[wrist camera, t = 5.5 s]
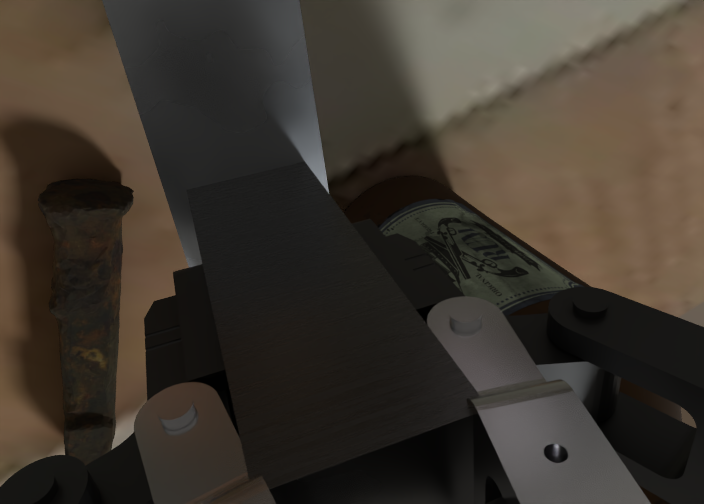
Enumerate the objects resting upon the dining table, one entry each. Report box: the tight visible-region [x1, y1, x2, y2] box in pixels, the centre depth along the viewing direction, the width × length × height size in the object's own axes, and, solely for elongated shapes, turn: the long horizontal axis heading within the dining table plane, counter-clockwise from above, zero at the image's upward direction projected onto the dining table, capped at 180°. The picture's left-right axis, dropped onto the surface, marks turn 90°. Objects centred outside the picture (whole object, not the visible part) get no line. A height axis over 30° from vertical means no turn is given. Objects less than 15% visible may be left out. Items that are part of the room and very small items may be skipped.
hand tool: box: [38, 179, 134, 466], centre depth 30 cm, size 19×4×5 cm, turn 166°
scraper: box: [102, 0, 480, 504], centre depth 12 cm, size 4×12×12 cm, turn 7°
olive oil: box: [344, 176, 682, 504], centre depth 26 cm, size 11×11×25 cm
